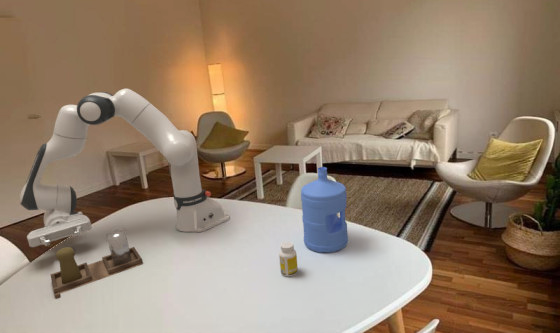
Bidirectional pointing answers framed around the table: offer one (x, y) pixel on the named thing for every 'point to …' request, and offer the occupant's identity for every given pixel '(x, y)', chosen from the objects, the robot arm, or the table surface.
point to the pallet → (94, 272)
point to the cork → (68, 265)
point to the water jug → (324, 214)
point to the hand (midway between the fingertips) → (62, 238)
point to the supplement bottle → (288, 259)
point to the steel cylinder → (119, 247)
